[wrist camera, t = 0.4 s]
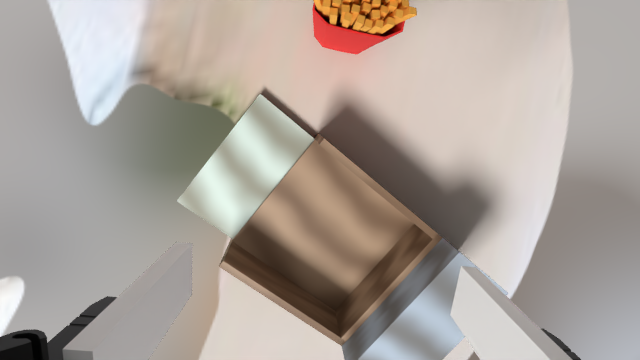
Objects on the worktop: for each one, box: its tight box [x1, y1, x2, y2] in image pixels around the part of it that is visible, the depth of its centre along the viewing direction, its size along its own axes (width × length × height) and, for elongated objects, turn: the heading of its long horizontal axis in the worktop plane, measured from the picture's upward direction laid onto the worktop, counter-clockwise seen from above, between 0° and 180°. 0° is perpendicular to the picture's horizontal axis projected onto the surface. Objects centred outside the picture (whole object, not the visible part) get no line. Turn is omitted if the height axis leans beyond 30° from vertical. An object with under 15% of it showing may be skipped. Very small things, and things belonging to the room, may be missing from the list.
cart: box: [177, 94, 508, 360], centre depth 35 cm, size 18×34×10 cm, turn 50°
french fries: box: [313, 0, 417, 54], centre depth 28 cm, size 8×4×12 cm, turn 79°
